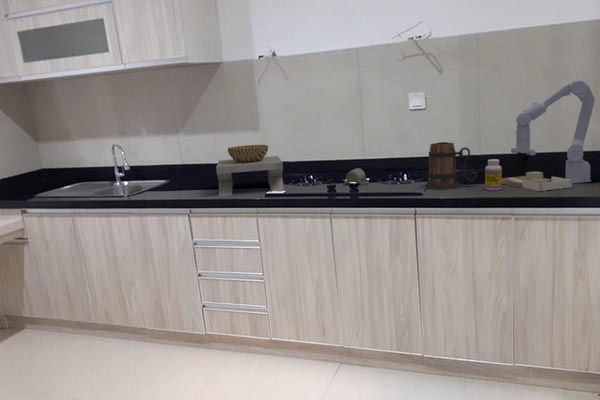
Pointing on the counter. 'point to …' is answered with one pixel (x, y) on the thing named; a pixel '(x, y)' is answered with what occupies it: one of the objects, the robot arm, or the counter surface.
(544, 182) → the tile terracotta
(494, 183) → the supplement bottle
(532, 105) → the robot arm
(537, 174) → the tile sage
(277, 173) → the grey wooden stool
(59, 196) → the counter surface
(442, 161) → the tankard
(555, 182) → the box
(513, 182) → the oak board
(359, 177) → the ceramic mug
